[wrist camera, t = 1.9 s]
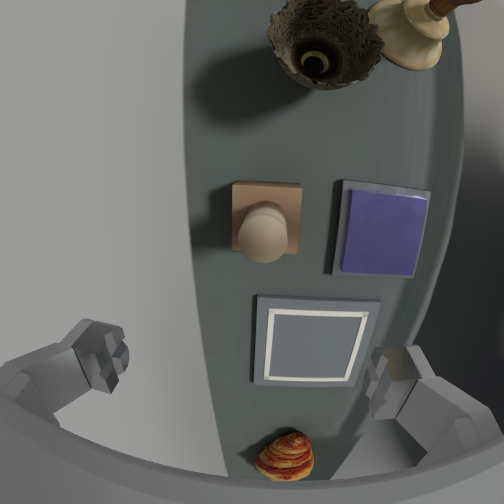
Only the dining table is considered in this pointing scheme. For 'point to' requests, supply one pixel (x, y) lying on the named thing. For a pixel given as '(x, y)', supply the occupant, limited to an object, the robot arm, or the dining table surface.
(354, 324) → the board
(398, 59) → the hand bell
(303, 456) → the croissant
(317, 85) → the cup
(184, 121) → the dining table surface
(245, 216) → the stamp
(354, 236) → the ink pad
